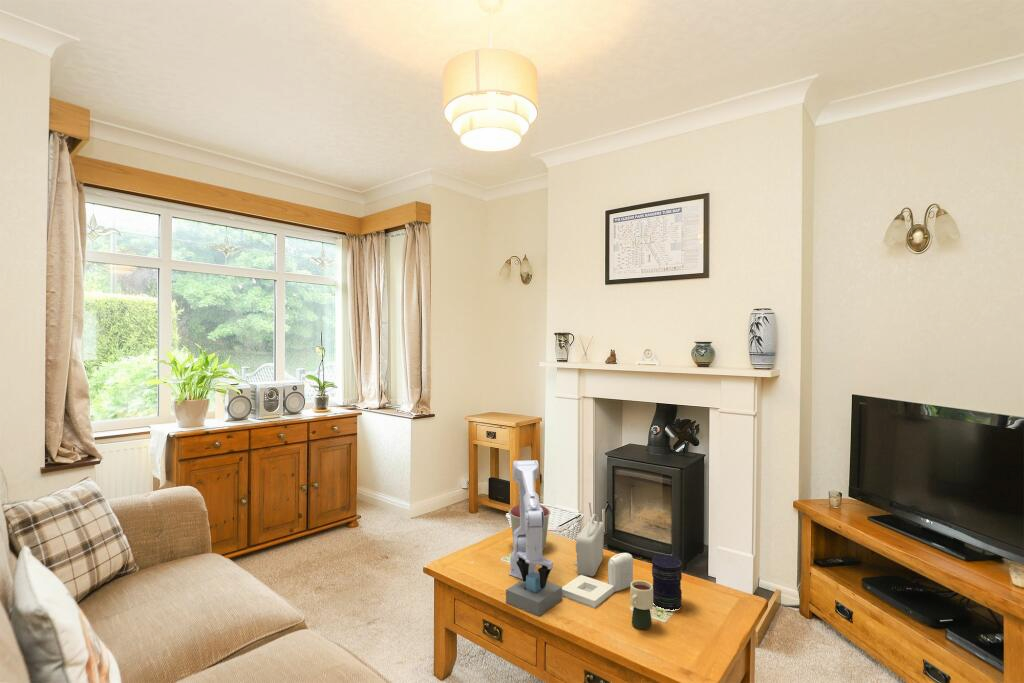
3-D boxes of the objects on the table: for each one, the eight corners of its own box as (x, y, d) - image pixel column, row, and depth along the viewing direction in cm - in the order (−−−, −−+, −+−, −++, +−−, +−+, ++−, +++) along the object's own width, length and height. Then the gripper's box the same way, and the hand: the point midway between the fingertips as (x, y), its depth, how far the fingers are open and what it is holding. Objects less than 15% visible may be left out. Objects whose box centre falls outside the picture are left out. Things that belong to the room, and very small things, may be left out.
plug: (526, 598, 181) (526, 575, 181) (533, 593, 185) (533, 571, 185) (535, 602, 179) (535, 579, 178) (543, 597, 182) (543, 574, 182)
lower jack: (560, 595, 185) (560, 588, 185) (580, 581, 196) (580, 574, 196) (594, 608, 177) (594, 601, 176) (614, 592, 187) (614, 585, 187)
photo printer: (626, 581, 196) (626, 549, 196) (634, 586, 192) (634, 552, 192) (606, 588, 190) (606, 555, 190) (614, 593, 187) (614, 559, 187)
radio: (585, 554, 221) (585, 496, 220) (604, 557, 218) (604, 498, 217) (571, 576, 200) (572, 511, 200) (593, 580, 197) (593, 514, 197)
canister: (537, 561, 214) (537, 510, 214) (500, 551, 224) (500, 502, 223) (557, 546, 229) (557, 499, 229) (522, 538, 239) (523, 492, 239)
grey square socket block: (505, 602, 180) (505, 589, 180) (529, 587, 191) (529, 575, 191) (538, 616, 172) (538, 602, 171) (561, 599, 182) (561, 586, 182)
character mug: (640, 615, 172) (640, 576, 172) (660, 623, 167) (660, 583, 167) (622, 628, 165) (622, 587, 164) (642, 637, 160) (642, 595, 159)
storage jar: (650, 608, 177) (650, 564, 177) (653, 595, 186) (653, 553, 186) (680, 614, 173) (680, 569, 173) (682, 600, 182) (682, 557, 182)
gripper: (510, 543, 183) (510, 581, 183) (544, 553, 174) (544, 594, 174) (523, 537, 188) (522, 574, 188) (556, 547, 179) (556, 586, 179)
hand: (534, 583), depth 181 cm, fingers open, 7 cm apart
